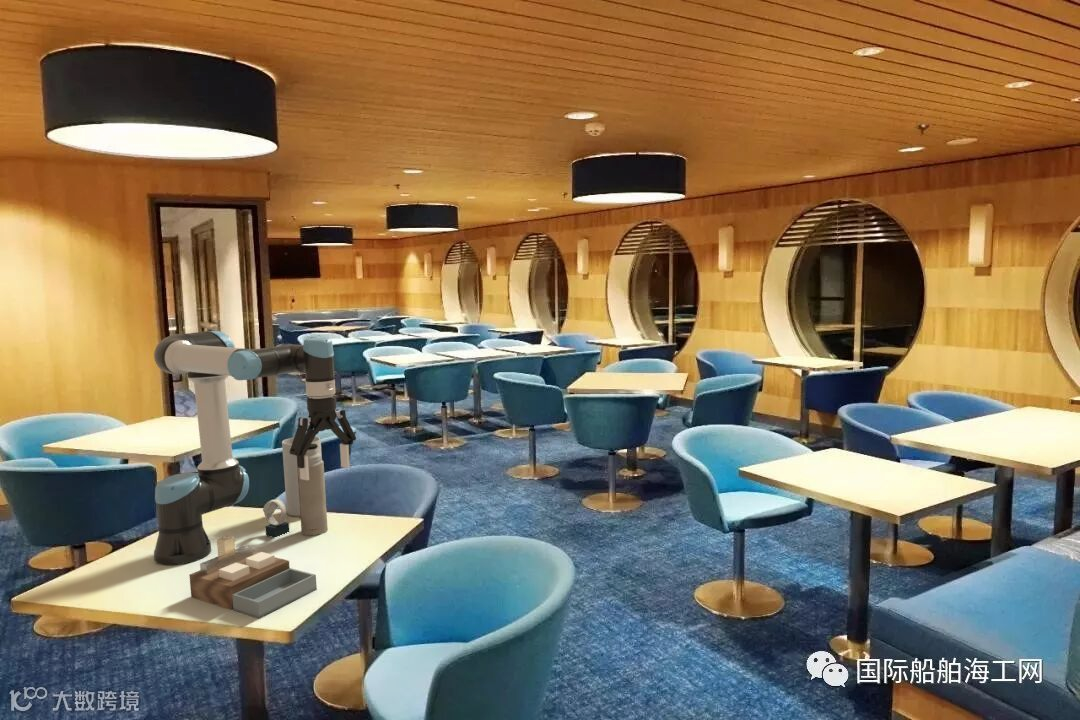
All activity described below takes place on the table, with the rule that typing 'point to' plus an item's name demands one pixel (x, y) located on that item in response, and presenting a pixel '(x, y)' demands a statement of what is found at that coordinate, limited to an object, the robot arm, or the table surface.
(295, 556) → the table surface
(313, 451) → the thermos bottle
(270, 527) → the watch
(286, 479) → the cylinder vase
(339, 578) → the table surface
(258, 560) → the tile
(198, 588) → the wood grain panel
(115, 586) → the table surface
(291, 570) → the box
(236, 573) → the tile
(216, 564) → the gray bar with knob
